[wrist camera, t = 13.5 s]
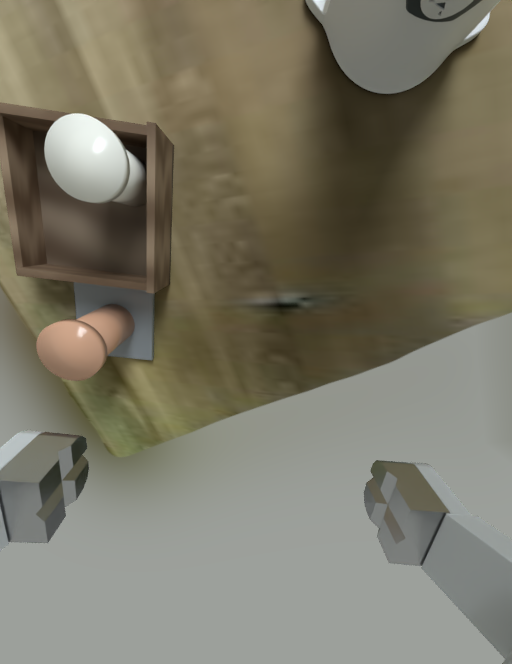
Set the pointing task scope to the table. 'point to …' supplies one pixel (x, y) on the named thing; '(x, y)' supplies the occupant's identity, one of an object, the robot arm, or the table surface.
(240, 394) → the table surface
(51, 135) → the white glossy domed part
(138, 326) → the slate tile
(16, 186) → the wooden tray
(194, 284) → the table surface
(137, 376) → the table surface
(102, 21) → the table surface
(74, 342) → the peach mushroom knob
